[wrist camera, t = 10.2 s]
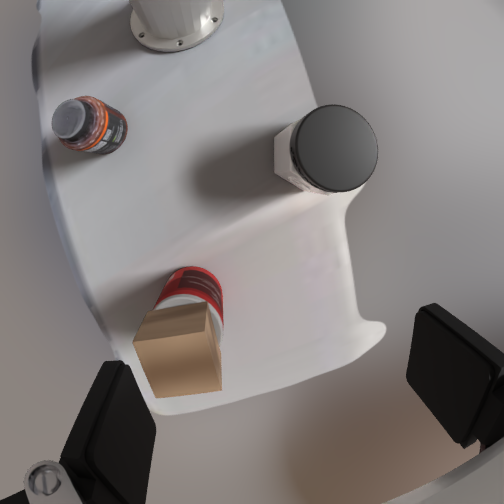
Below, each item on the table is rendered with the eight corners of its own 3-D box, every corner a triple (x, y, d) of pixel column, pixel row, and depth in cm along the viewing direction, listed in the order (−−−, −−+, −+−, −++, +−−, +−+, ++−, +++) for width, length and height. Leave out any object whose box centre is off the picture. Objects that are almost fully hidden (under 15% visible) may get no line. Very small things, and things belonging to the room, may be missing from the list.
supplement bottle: (88, 113, 32) (45, 95, 21) (129, 107, 33) (96, 82, 22) (87, 157, 34) (42, 152, 23) (128, 152, 34) (93, 143, 23)
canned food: (170, 322, 40) (156, 368, 30) (160, 267, 38) (139, 299, 28) (225, 318, 41) (227, 363, 30) (219, 261, 39) (218, 292, 28)
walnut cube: (147, 311, 28) (132, 342, 22) (207, 301, 28) (204, 331, 22) (165, 362, 29) (155, 398, 24) (221, 353, 30) (221, 390, 24)
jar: (257, 165, 36) (273, 158, 25) (289, 111, 35) (318, 84, 23) (317, 201, 38) (356, 212, 27) (347, 149, 37) (395, 140, 25)
